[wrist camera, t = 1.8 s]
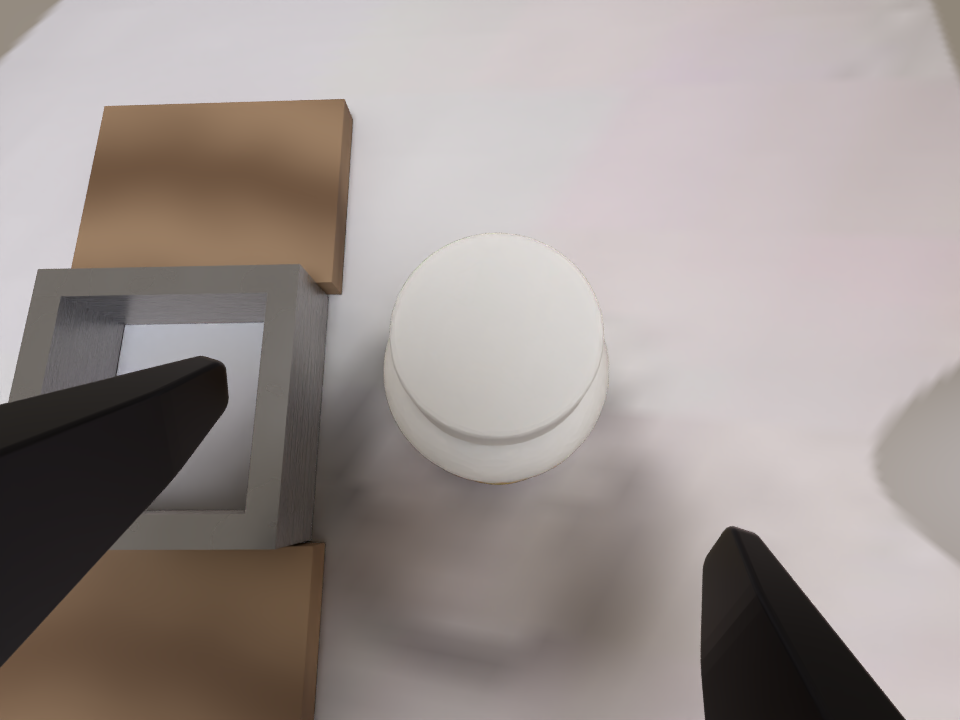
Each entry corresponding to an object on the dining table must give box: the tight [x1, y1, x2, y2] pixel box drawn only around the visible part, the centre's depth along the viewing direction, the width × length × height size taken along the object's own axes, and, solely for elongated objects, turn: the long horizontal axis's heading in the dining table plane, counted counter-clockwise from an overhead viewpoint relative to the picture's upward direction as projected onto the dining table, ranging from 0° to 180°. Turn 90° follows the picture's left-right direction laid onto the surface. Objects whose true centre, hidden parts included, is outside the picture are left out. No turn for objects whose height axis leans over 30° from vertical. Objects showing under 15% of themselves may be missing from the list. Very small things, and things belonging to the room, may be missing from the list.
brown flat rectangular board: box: [0, 99, 353, 720], centre depth 18 cm, size 25×10×1 cm, turn 0°
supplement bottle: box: [384, 233, 609, 485], centre depth 14 cm, size 5×5×10 cm
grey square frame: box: [8, 264, 329, 550], centre depth 18 cm, size 9×9×3 cm
